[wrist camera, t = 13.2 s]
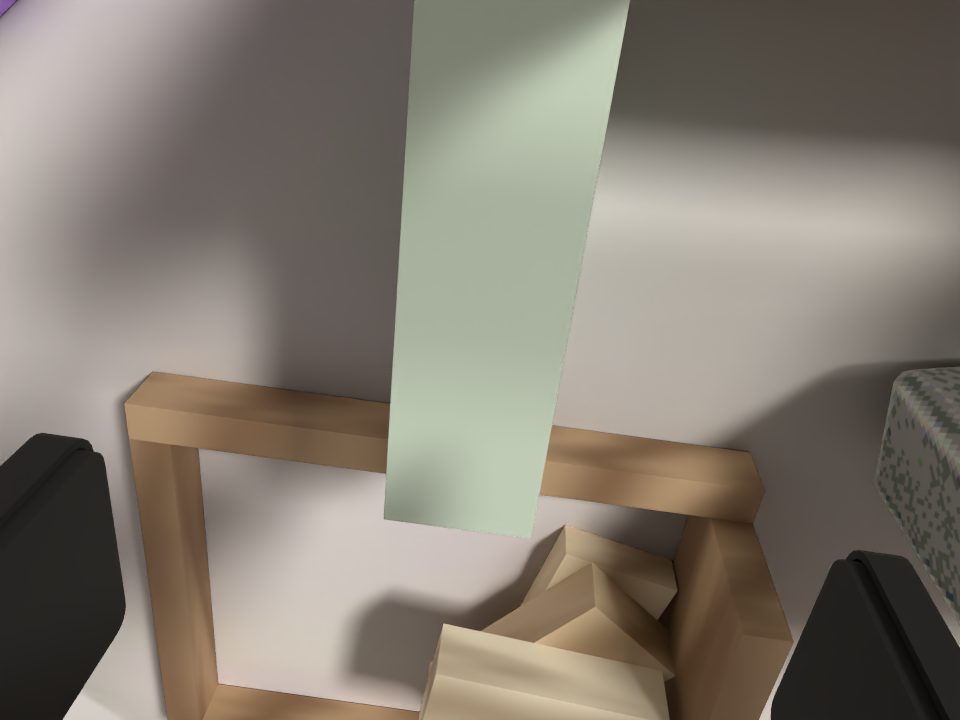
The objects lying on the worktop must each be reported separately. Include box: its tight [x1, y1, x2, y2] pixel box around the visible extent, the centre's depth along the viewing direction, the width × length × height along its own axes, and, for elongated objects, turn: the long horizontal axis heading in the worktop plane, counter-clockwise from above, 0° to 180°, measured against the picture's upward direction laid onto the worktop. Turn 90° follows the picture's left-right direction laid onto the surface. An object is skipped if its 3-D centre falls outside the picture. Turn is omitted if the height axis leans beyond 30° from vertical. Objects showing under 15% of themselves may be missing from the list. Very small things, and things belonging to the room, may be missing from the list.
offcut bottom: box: [520, 525, 677, 620], centre depth 35 cm, size 5×10×2 cm, turn 160°
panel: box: [384, 0, 630, 539], centre depth 22 cm, size 4×14×10 cm, turn 174°
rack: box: [124, 372, 793, 720], centre depth 32 cm, size 24×20×8 cm
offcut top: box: [419, 624, 670, 720], centre depth 31 cm, size 5×9×2 cm, turn 77°
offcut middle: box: [426, 562, 675, 684], centre depth 33 cm, size 5×10×2 cm, turn 134°
